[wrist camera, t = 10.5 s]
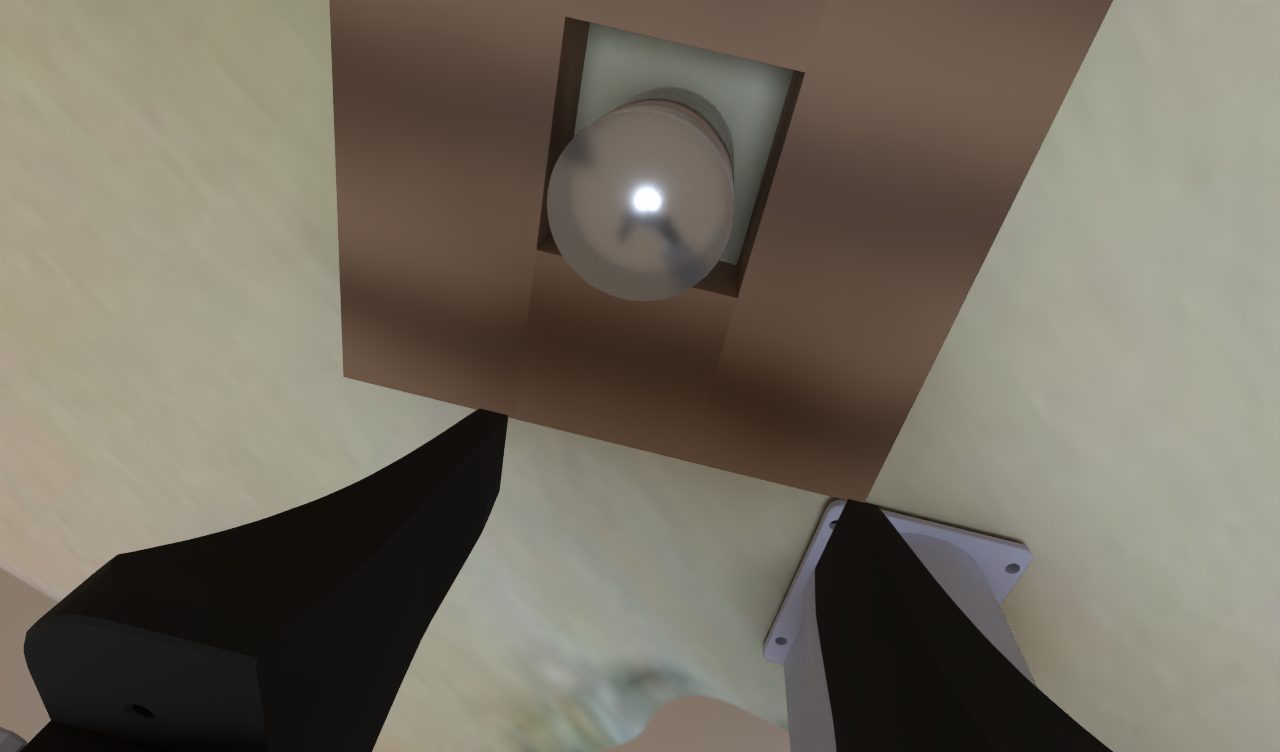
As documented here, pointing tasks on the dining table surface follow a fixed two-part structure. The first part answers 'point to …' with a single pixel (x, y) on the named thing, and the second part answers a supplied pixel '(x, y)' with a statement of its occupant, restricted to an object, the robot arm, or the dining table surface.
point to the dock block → (730, 294)
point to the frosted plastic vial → (645, 196)
